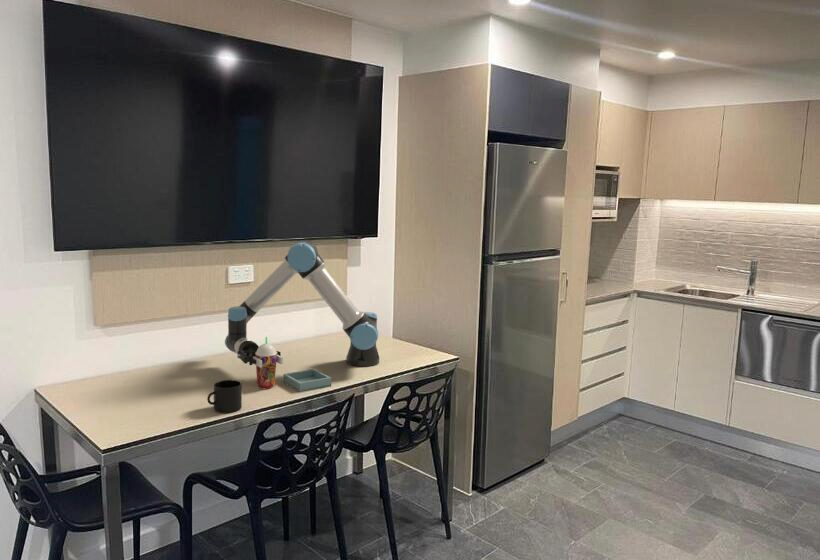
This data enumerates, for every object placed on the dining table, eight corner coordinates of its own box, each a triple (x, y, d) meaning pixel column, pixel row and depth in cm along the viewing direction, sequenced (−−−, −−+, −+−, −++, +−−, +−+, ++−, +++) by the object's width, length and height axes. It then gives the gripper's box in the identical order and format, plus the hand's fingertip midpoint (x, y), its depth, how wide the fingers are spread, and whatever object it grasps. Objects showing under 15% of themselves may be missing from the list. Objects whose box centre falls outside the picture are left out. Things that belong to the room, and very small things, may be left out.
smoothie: (271, 390, 241) (272, 340, 238) (251, 388, 242) (251, 338, 239) (280, 384, 249) (280, 335, 246) (260, 382, 250) (260, 333, 247)
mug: (202, 408, 220) (202, 383, 218) (235, 402, 227) (235, 378, 226) (212, 416, 212) (212, 391, 211) (245, 410, 220) (245, 385, 218)
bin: (313, 376, 260) (313, 368, 259) (331, 386, 249) (331, 377, 249) (283, 382, 251) (283, 374, 251) (300, 392, 240) (300, 383, 240)
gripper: (270, 354, 265) (295, 367, 247) (222, 361, 252) (246, 376, 234) (270, 337, 264) (295, 349, 246) (222, 343, 251) (246, 356, 233)
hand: (271, 362), depth 240 cm, fingers open, 8 cm apart
